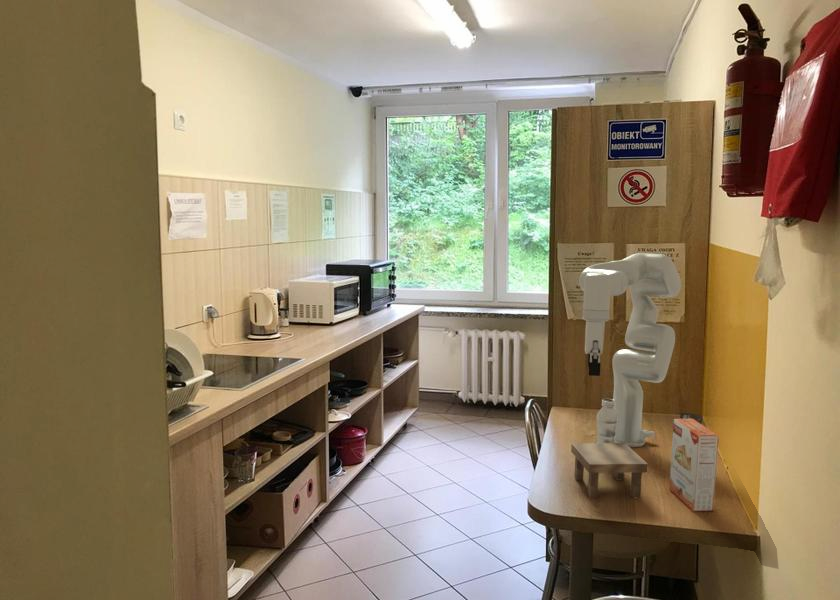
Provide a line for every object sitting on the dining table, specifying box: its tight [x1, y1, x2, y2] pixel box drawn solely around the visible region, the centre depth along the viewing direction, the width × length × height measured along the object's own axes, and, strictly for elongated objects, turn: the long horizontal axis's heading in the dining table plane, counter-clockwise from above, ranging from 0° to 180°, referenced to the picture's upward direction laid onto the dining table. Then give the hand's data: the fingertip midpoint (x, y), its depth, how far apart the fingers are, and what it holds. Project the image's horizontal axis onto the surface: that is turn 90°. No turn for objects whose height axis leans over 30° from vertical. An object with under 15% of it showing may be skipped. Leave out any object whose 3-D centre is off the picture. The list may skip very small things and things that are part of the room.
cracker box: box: [669, 418, 720, 512], centre depth 177 cm, size 14×6×21 cm, turn 4°
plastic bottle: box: [596, 398, 618, 443], centre depth 203 cm, size 6×7×20 cm
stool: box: [570, 442, 649, 499], centre depth 185 cm, size 16×16×10 cm
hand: (593, 371), depth 197 cm, fingers open, 9 cm apart
